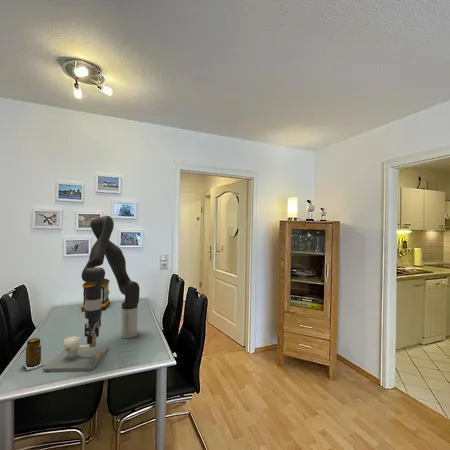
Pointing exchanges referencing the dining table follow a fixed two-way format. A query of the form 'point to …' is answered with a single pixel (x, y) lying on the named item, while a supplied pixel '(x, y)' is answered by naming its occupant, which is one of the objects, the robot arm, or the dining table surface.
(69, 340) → the cream maraca
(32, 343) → the condiment
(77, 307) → the dining table surface
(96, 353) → the board
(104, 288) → the decorative lantern
